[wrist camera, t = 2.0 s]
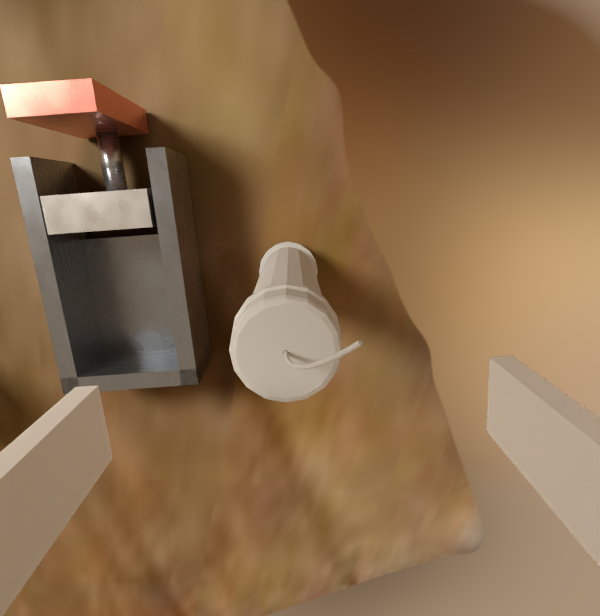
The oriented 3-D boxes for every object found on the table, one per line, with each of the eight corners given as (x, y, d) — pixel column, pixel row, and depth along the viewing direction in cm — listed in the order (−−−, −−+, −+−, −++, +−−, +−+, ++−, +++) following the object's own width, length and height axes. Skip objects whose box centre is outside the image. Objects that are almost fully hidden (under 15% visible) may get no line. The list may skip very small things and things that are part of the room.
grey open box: (57, 164, 40) (10, 158, 34) (185, 154, 40) (164, 146, 34) (97, 364, 45) (63, 394, 39) (212, 356, 45) (198, 384, 39)
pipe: (249, 267, 43) (163, 414, 14) (293, 222, 42) (300, 281, 13) (288, 305, 44) (284, 515, 15) (333, 262, 43) (419, 399, 14)
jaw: (66, 116, 39) (-19, 86, 28) (159, 109, 39) (109, 77, 28) (87, 228, 42) (17, 239, 31) (174, 222, 42) (135, 230, 31)
